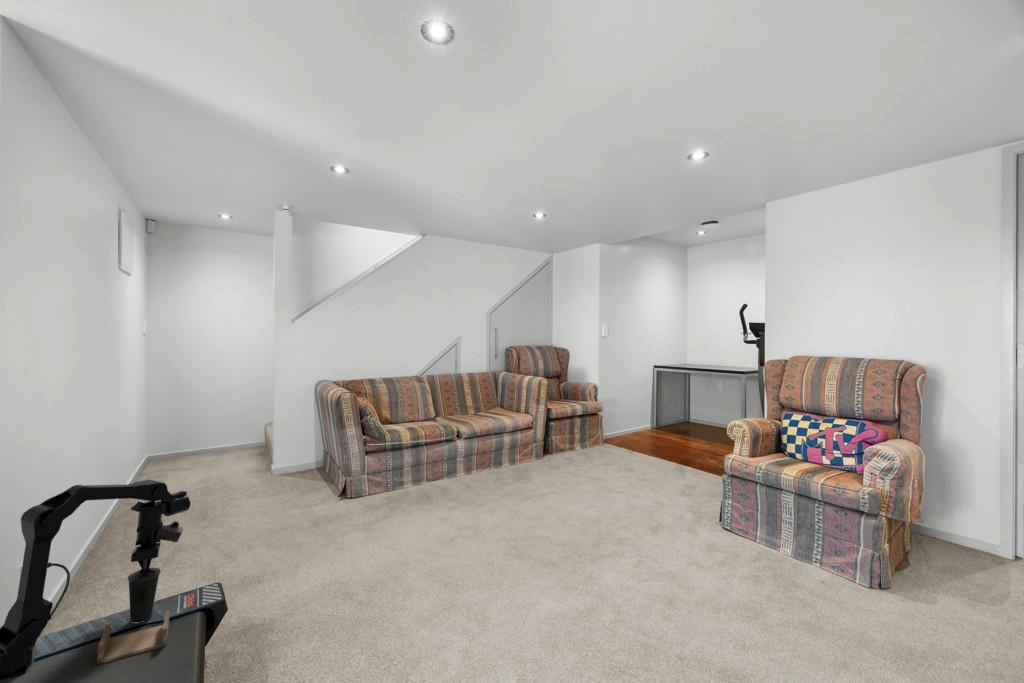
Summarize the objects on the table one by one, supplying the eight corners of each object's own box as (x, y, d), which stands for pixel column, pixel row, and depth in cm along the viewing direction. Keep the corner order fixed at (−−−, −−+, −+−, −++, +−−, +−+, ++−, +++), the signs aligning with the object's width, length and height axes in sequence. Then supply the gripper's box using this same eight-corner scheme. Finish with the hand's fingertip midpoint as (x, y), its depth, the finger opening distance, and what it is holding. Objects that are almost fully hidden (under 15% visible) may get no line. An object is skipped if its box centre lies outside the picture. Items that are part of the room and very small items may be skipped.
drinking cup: (164, 613, 134) (168, 548, 134) (140, 628, 126) (145, 559, 127) (141, 610, 135) (146, 546, 135) (117, 625, 127) (122, 557, 128)
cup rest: (96, 664, 112) (98, 645, 112) (104, 642, 120) (105, 625, 120) (165, 645, 120) (167, 628, 120) (168, 626, 128) (169, 609, 128)
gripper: (180, 526, 133) (176, 578, 133) (183, 507, 148) (179, 553, 148) (132, 533, 127) (128, 587, 126) (140, 513, 142) (136, 561, 141)
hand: (145, 571), depth 135 cm, fingers closed
